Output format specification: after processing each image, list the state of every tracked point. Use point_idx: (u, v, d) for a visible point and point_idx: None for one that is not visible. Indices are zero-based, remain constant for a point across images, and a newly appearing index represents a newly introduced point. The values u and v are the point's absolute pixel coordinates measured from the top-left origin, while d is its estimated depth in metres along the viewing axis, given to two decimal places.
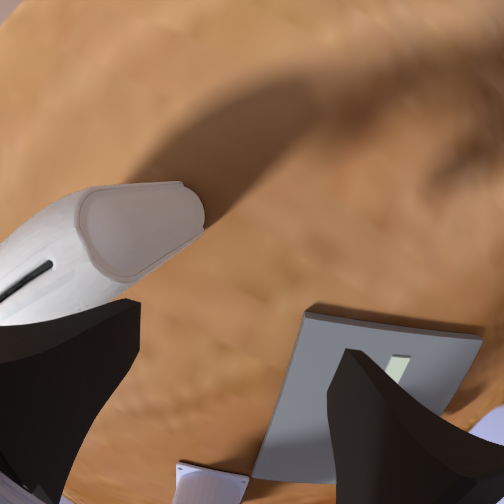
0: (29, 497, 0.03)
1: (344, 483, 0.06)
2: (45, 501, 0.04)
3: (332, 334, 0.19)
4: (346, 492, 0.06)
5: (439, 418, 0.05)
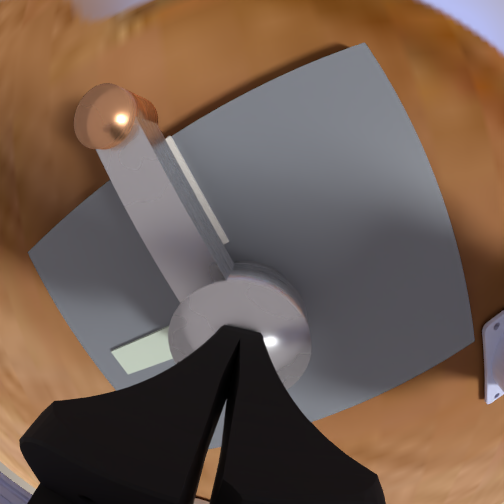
0: (29, 497, 0.03)
1: (217, 469, 0.06)
2: None
3: None
4: (215, 479, 0.06)
5: (298, 412, 0.05)
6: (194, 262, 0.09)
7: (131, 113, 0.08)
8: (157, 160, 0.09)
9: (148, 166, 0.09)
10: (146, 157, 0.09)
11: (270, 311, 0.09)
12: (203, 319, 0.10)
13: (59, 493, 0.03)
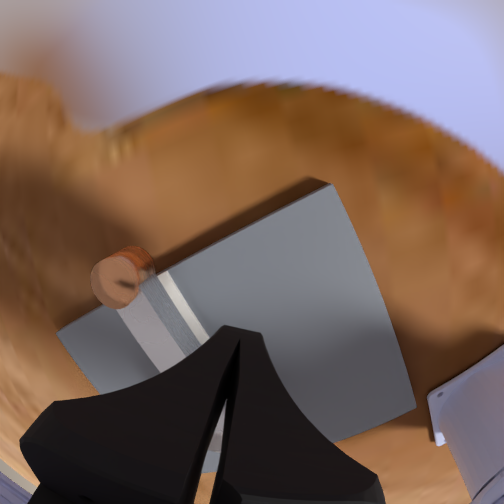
0: (29, 497, 0.03)
1: (217, 469, 0.06)
2: None
3: None
4: (215, 479, 0.06)
5: (297, 411, 0.05)
6: None
7: (135, 287, 0.12)
8: (159, 319, 0.12)
9: (153, 322, 0.12)
10: (151, 316, 0.12)
11: None
12: None
13: (59, 493, 0.03)
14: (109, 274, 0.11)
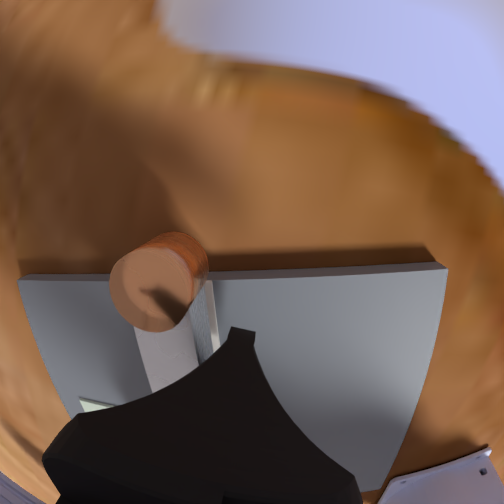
0: (29, 497, 0.03)
1: None
2: None
3: None
4: None
5: (279, 409, 0.05)
6: None
7: (186, 312, 0.07)
8: (196, 362, 0.08)
9: (185, 360, 0.08)
10: (186, 353, 0.08)
11: None
12: None
13: None
14: (151, 278, 0.07)
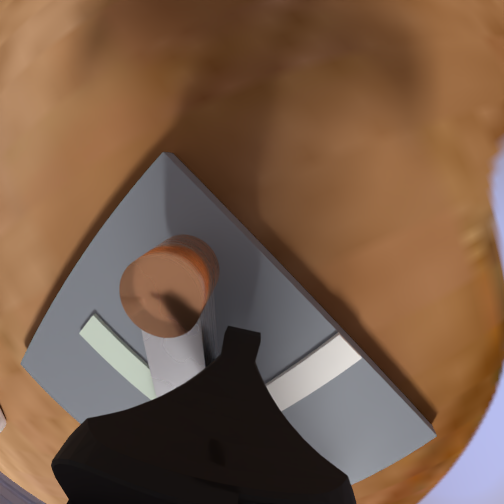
0: (29, 497, 0.03)
1: None
2: None
3: (37, 359, 0.13)
4: None
5: (274, 408, 0.05)
6: None
7: None
8: (204, 367, 0.08)
9: (192, 366, 0.08)
10: (194, 359, 0.08)
11: None
12: None
13: None
14: (164, 284, 0.07)
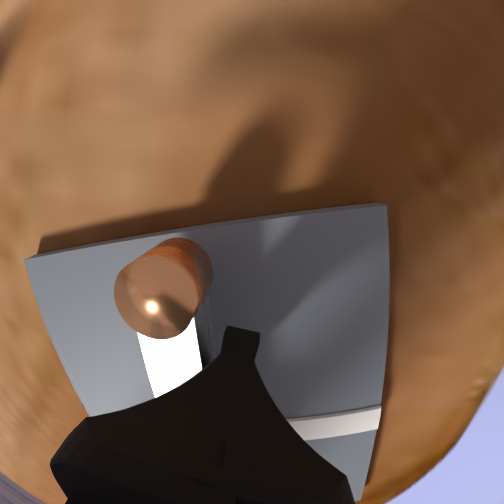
0: (29, 497, 0.03)
1: None
2: None
3: (55, 272, 0.11)
4: None
5: (273, 408, 0.05)
6: None
7: (191, 320, 0.07)
8: (200, 368, 0.08)
9: (189, 367, 0.08)
10: (190, 360, 0.08)
11: None
12: None
13: None
14: (157, 286, 0.07)
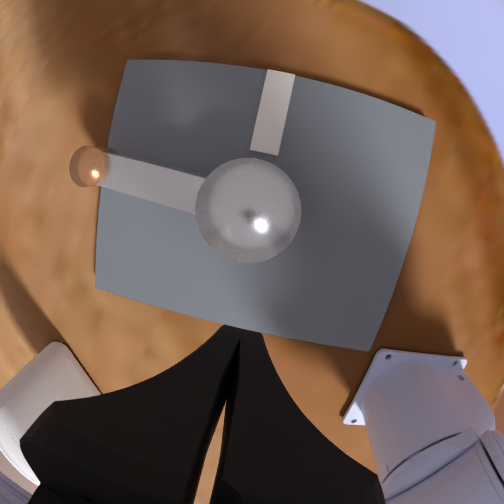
0: (29, 497, 0.03)
1: (217, 469, 0.06)
2: None
3: (105, 263, 0.19)
4: (215, 479, 0.06)
5: (297, 412, 0.05)
6: (183, 185, 0.14)
7: (98, 151, 0.14)
8: (127, 158, 0.14)
9: (125, 165, 0.14)
10: (122, 162, 0.14)
11: (240, 172, 0.14)
12: (213, 210, 0.14)
13: (59, 493, 0.03)
14: (79, 160, 0.14)
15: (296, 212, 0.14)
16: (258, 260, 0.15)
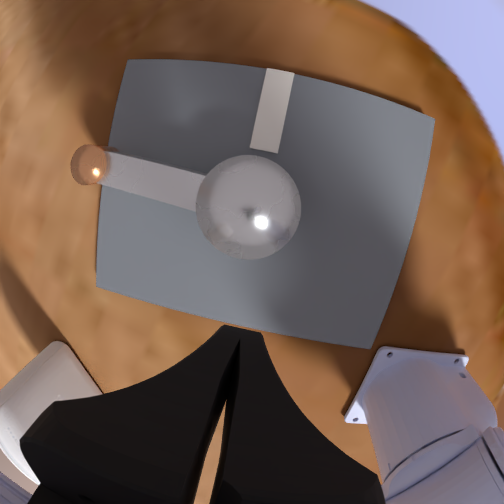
0: (29, 497, 0.03)
1: (217, 469, 0.06)
2: None
3: (106, 261, 0.19)
4: (215, 479, 0.06)
5: (298, 411, 0.05)
6: (183, 182, 0.14)
7: (99, 149, 0.14)
8: (128, 157, 0.14)
9: (126, 163, 0.14)
10: (122, 161, 0.14)
11: (240, 169, 0.14)
12: (214, 207, 0.14)
13: (59, 493, 0.03)
14: (80, 159, 0.14)
15: (296, 208, 0.14)
16: (258, 257, 0.15)
